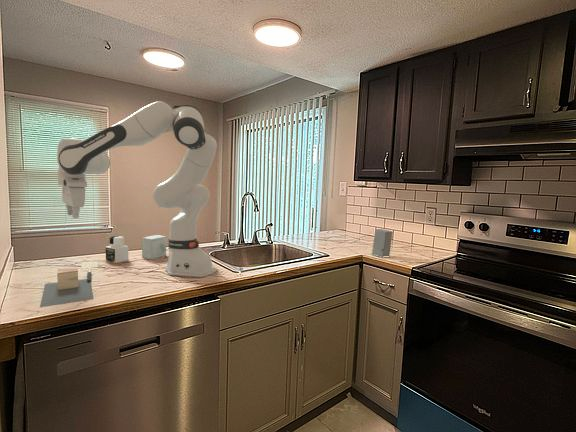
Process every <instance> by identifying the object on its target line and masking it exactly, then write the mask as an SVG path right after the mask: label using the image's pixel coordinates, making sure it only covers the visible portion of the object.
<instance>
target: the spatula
mask: <svg viewBox="0 0 576 432" xmlns="http://www.w3.org/2000/svg"><path fill="white" fill-rule="evenodd" d="M98 266H99V265H98V261H88V262H87V261H86V262H81V267H80V268H81V269H82V268H83V269H88V268H89V267H93V268H98ZM83 269H82V270H83ZM91 269H92V268H89V269H88V271H87V273H86V275H87V276H86V279H87V281H91V282H92V271H91Z"/></svg>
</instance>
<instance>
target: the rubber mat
mask: <svg viewBox="0 0 576 432" xmlns="http://www.w3.org/2000/svg"><path fill="white" fill-rule="evenodd" d="M92 286H93V285H92V280H91V281H87V278H82V279H78V287H75V288H67V289H59V290H58V281H57V282H49V283H44V287H43V292H42V295H41V296H42V297H41V301H40V305H39V308H43V307H50V306H58V305H65V304H70V303H71V304H72V303H77V302H83V301H84V302H85V301H90V300H94V299H95V298H94V293H93V287H92Z"/></svg>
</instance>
